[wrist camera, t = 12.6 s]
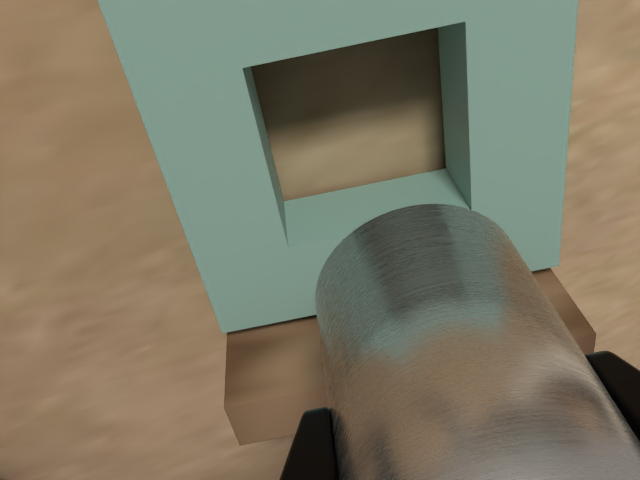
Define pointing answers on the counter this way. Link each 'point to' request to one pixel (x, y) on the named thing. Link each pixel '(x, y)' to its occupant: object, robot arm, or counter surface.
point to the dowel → (457, 360)
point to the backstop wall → (317, 368)
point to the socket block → (357, 202)
